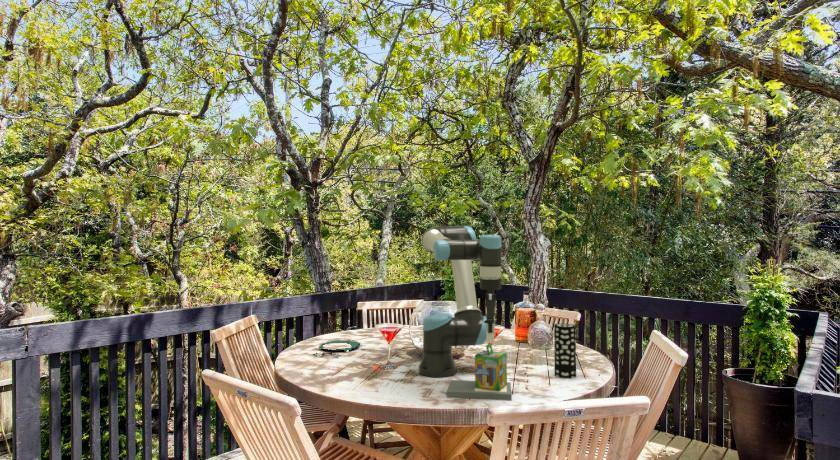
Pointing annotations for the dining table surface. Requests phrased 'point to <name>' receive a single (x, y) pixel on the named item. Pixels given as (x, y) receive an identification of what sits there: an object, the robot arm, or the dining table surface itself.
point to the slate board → (477, 391)
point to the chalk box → (490, 369)
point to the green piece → (352, 343)
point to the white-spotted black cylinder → (565, 350)
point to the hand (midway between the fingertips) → (490, 337)
